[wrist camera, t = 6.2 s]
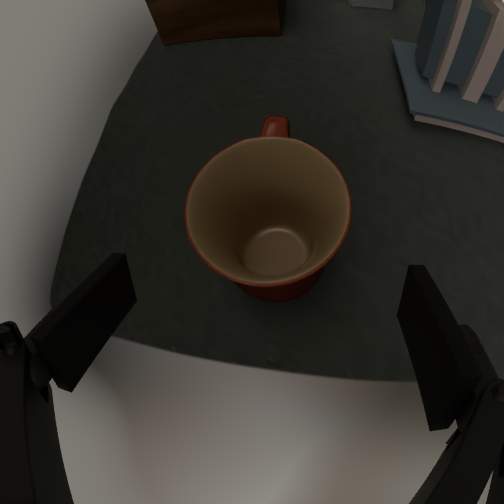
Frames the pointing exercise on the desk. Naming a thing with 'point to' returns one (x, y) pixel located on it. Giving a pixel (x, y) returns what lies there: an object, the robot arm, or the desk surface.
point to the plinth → (216, 19)
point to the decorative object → (372, 3)
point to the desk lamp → (457, 67)
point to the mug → (269, 213)
